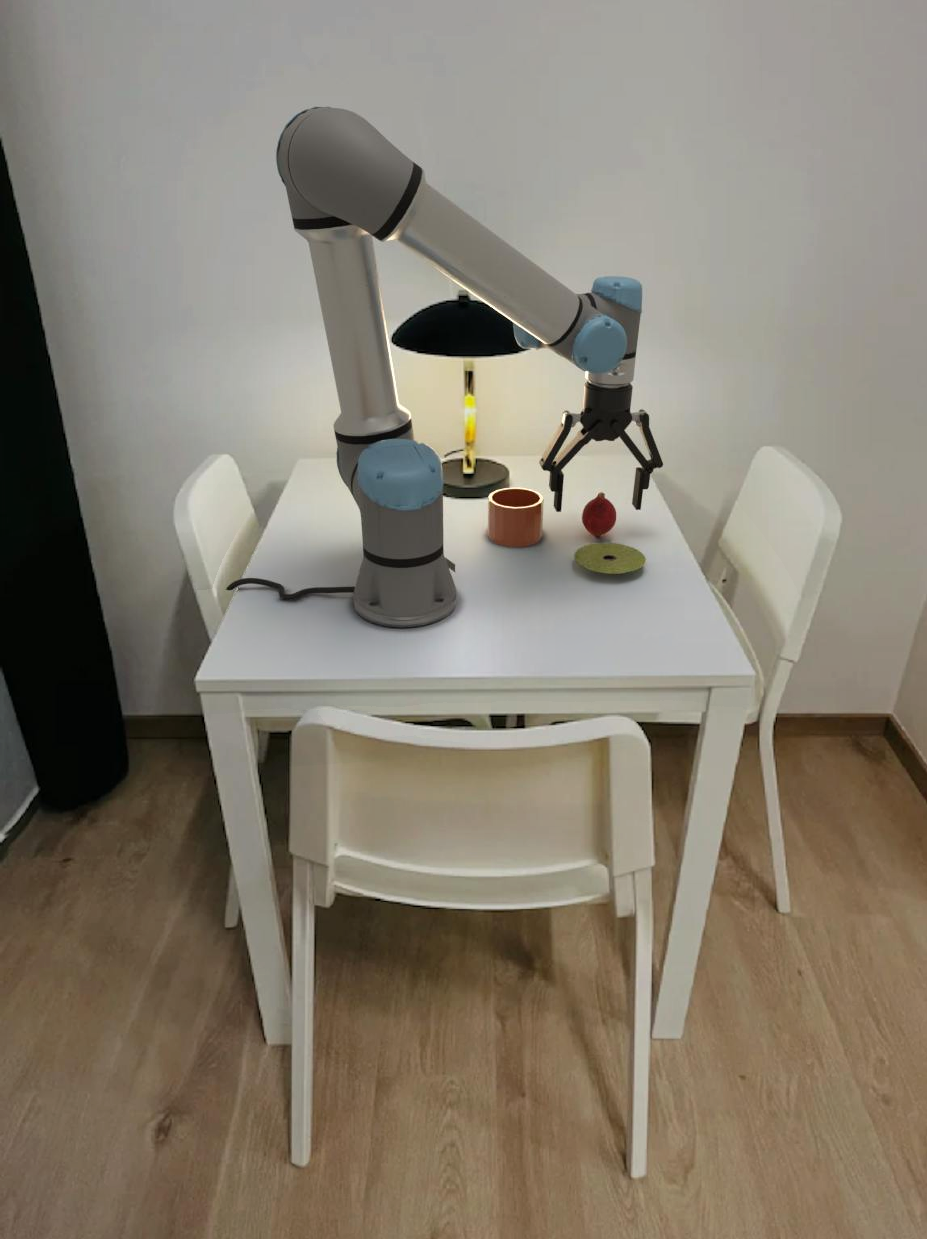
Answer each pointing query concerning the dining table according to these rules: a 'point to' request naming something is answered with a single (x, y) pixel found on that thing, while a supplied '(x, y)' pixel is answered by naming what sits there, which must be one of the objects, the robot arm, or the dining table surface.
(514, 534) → the flower pot
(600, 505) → the onion
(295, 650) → the dining table surface
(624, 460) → the dining table surface
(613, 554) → the mat
